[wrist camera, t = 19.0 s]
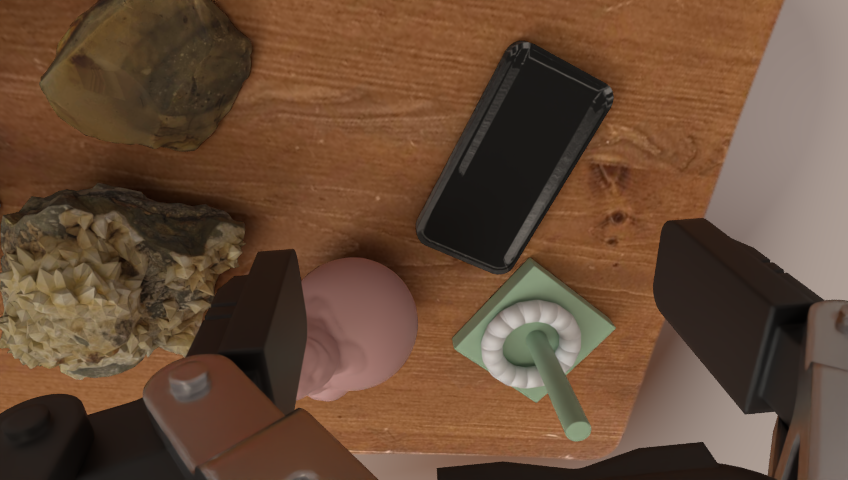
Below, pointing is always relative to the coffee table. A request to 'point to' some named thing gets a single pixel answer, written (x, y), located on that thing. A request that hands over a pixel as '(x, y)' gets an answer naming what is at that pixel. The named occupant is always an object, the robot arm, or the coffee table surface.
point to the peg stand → (540, 339)
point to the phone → (513, 158)
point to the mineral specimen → (109, 277)
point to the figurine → (354, 327)
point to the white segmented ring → (516, 318)
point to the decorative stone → (148, 72)
